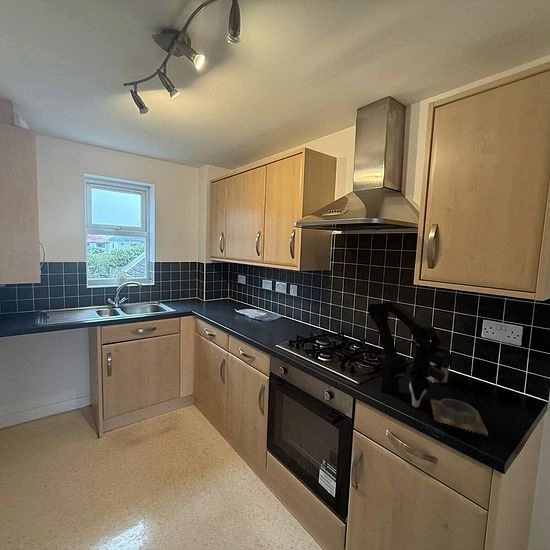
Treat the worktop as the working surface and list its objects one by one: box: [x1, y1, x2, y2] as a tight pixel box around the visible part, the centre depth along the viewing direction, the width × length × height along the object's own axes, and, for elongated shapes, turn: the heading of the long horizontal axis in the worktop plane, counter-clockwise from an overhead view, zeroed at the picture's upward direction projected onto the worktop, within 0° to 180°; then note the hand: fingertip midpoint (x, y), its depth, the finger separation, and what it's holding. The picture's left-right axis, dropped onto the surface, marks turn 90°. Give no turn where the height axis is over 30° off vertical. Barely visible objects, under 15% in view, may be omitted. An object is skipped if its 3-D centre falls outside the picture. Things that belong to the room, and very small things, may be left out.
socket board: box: [430, 398, 489, 437], centre depth 111 cm, size 16×16×4 cm
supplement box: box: [426, 362, 450, 384], centre depth 144 cm, size 7×7×13 cm
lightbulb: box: [408, 381, 427, 408], centre depth 116 cm, size 6×6×11 cm
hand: (416, 396), depth 116 cm, fingers open, 7 cm apart
